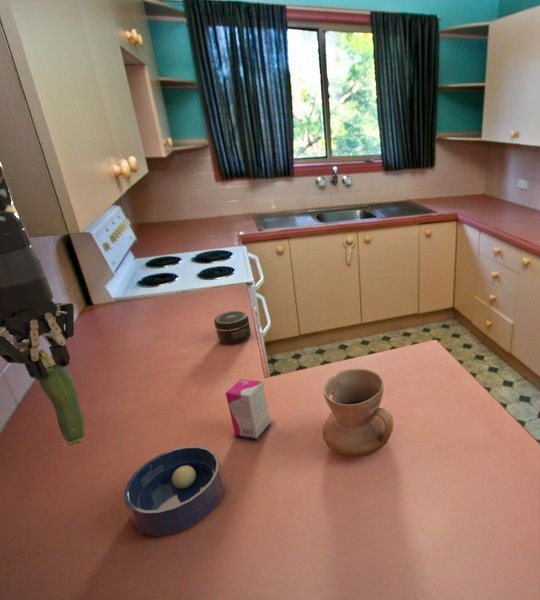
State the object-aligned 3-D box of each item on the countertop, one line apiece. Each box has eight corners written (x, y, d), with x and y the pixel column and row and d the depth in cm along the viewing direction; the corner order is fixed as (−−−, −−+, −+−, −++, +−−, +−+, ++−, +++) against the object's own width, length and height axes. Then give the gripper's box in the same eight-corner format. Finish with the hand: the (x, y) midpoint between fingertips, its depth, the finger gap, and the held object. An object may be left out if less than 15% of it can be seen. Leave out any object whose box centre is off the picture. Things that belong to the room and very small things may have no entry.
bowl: (140, 556, 68) (129, 530, 66) (129, 494, 80) (120, 470, 77) (236, 507, 76) (229, 482, 74) (213, 457, 88) (207, 434, 85)
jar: (214, 338, 136) (209, 316, 132) (244, 328, 141) (240, 307, 138) (225, 349, 129) (220, 327, 125) (257, 338, 134) (253, 316, 131)
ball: (177, 497, 78) (171, 481, 76) (172, 483, 81) (167, 467, 79) (200, 486, 80) (195, 470, 78) (195, 473, 83) (190, 457, 81)
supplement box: (271, 423, 97) (264, 380, 92) (257, 440, 92) (248, 397, 87) (249, 419, 98) (240, 377, 94) (234, 436, 93) (224, 393, 89)
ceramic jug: (306, 441, 91) (298, 386, 85) (354, 407, 101) (350, 356, 95) (366, 483, 80) (361, 423, 75) (414, 440, 90) (413, 384, 85)
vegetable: (71, 436, 80) (32, 343, 72) (98, 430, 81) (62, 338, 73) (63, 452, 76) (21, 355, 68) (91, 445, 77) (53, 350, 69)
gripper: (35, 262, 73) (69, 349, 80) (-58, 293, 60) (-9, 394, 67) (73, 263, 72) (104, 351, 78) (-14, 295, 59) (32, 398, 66)
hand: (52, 371), depth 73 cm, fingers closed on vegetable, 3 cm apart
